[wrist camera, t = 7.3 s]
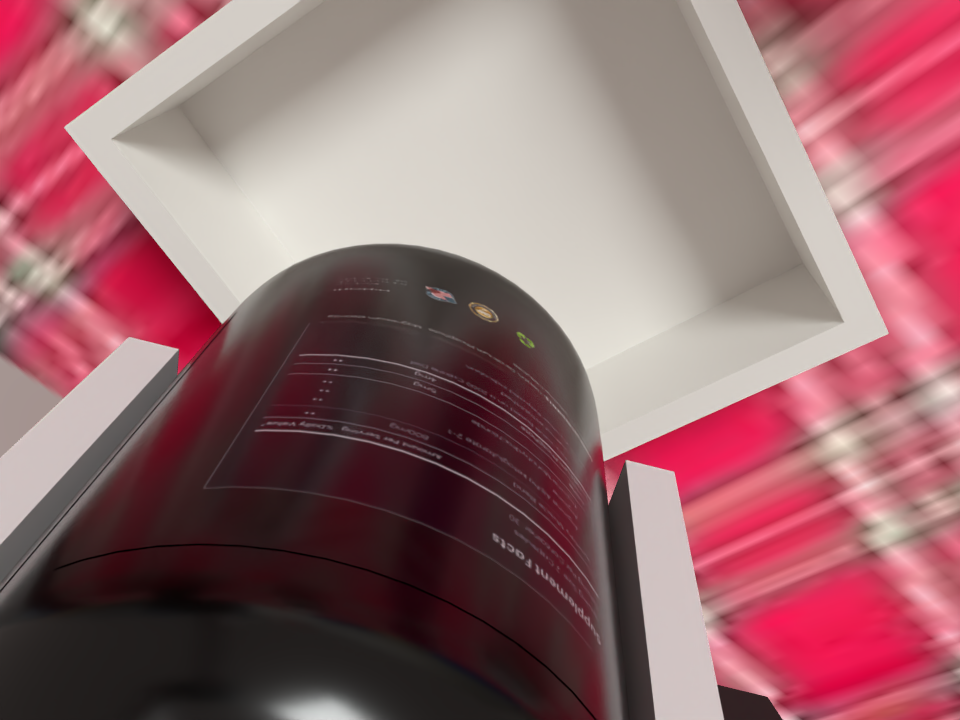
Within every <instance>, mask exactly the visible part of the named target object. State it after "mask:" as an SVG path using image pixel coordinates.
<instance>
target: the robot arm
mask: <svg viewBox="0 0 960 720" xmlns="http://www.w3.org/2000/svg"><path fill="white" fill-rule="evenodd" d="M178 356H179V349H176V348H172V347H168V346H164V345H159V344H155V343H151V342H147V341H143V340H139V339H135V338H131V337H128V338H127V339H126V340H125V341H124V342H123V343H122V344H121V345H120V346H119V347H118V348H117V349H116V350H115V351H114V352H112V353H111V354H110V355H109V356H108V357H107V358H106V359H105V360H104V361H103V362H102V363H101V364H100V365H99V366H98V367H96V368H95V369H94V370H93V371H92V372H91V373H90V374H89V375H88V376H87V377H86V378H85V379H84V380H83V381H82V382H81V383H79V384H78V385H77V386H76V387H75V388H74V389H73V390H72V391H71V392H70V393H69V394H68V395H67V396H66V397H65V398H63V399H62V400H61V401H60V402H59V403H58V404H57V405H56V406H55V407H54V408H53V409H52V410H51V411H50V412H49V413H48V414H47V415H46V416H44V417H43V418H42V419H41V420H40V421H39V422H38V423H37V424H36V425H35V426H34V427H33V428H32V429H31V430H29V431H28V432H27V433H26V434H25V435H24V436H23V437H22V438H21V439H20V440H19V441H18V442H17V443H16V444H15V445H13V447H11V448H10V449H9V450H8V451H7V452H6V453H5V454H4V455H3V456H2V457H1V458H0V582H1V581H2V580H3V579H4V577H5V576H6V575H7V574H8V573H9V572H10V570H11V569H12V568H13V567H14V566H15V565H16V563H17V562H18V561H19V560H20V559H21V558H22V556H23V555H24V554H25V553H26V552H27V551H28V549H29V548H30V547H31V546H32V545H33V544H34V542H35V541H36V540H37V539H38V538H39V537H40V535H41V534H42V533H43V532H44V531H45V530H46V528H47V527H48V526H49V525H50V524H51V523H52V521H53V520H54V519H55V518H56V517H57V516H58V514H59V513H60V512H61V511H62V510H63V509H64V507H65V506H66V505H67V504H68V503H69V502H70V500H71V499H72V498H73V497H74V496H75V495H76V493H77V492H78V491H79V490H80V489H81V488H82V486H83V485H84V484H85V483H86V482H87V481H88V479H89V478H90V477H91V476H92V475H93V474H94V472H95V471H96V470H97V469H98V468H99V467H100V465H101V464H102V463H103V462H104V461H105V460H106V458H107V457H108V456H109V455H110V454H111V453H112V451H113V450H114V449H115V448H116V447H117V446H118V444H119V443H120V442H121V441H122V440H123V439H124V437H125V436H126V435H127V434H128V433H129V432H130V430H131V429H132V428H133V427H134V426H135V425H136V423H137V422H138V421H139V420H140V419H141V418H142V416H143V415H144V414H145V413H146V412H147V411H148V409H149V408H150V407H151V406H152V405H153V404H154V402H155V401H156V400H157V399H158V398H159V397H160V395H161V394H162V393H163V392H164V391H165V390H166V388H167V387H168V386H169V385H170V384H171V383H172V381H173V380H174V379H175V378H176V377H177V370H178ZM608 509H609V519H610V529H611V539H612V549H613V558H614V568H615V578H616V588H617V598H618V608H619V617H620V627H621V637H622V647H623V657H624V667H625V676H626V686H627V696H628V706H629V716H630V720H782V718H781V717H780V715H779V714H778V712H777V711H776V709H775V708H774V706H773V705H772V703H771V702H770V700H769V699H768V697H765V696H761V695H757V694H753V693H749V692H745V691H740V690H736V689H732V688H728V687H724V686H720V685H717V682H716V677H715V672H714V667H713V662H712V657H711V652H710V647H709V642H708V637H707V632H706V627H705V622H704V617H703V613H702V608H701V603H700V598H699V593H698V588H697V583H696V578H695V573H694V568H693V563H692V558H691V553H690V548H689V543H688V538H687V533H686V528H685V523H684V518H683V513H682V508H681V503H680V498H679V493H678V488H677V483H676V478H675V473H674V472H673V471H668V470H664V469H660V468H656V467H652V466H648V465H644V464H640V463H636V462H632V461H628V460H626V461H625V463H624V466H623V469H622V471H621V474H620V476H619V479H618V482H617V484H616V487H615V490H614V492H613V495H612V497H611V500H610V503H609V505H608Z"/></svg>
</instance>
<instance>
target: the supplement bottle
mask: <svg viewBox="0 0 960 720" xmlns="http://www.w3.org/2000/svg"><path fill="white" fill-rule="evenodd" d="M0 720H630V716H629V706H628V696H627V686H626V676H625V667H624V657H623V647H622V637H621V627H620V617H619V608H618V598H617V588H616V578H615V568H614V558H613V549H612V539H611V529H610V519H609V509H608V499H607V490H606V480H605V470H604V460H603V450H602V442H601V437H600V428H599V421H598V414H597V409H596V403H595V399H594V395H593V391H592V388H591V385H590V382H589V378H588V375H587V373H586V370H585V368H584V366H583V363H582V361H581V359H580V357H579V355H578V353H577V352H576V350H575V348H574V346H573V344H572V343H571V341H570V340H569V338H568V337H567V335H566V334H565V333H564V331H563V330H562V328H561V327H560V326H559V324H558V323H557V322H556V321H555V320H554V319H553V318H552V316H551V315H550V314H549V313H548V312H547V311H546V310H545V309H544V308H543V307H542V306H541V305H540V304H539V303H538V302H537V301H536V300H535V299H533V298H532V297H531V296H530V295H529V294H528V293H526V292H525V291H524V290H522V289H521V288H520V287H519V286H517V285H516V284H515V283H513V282H512V281H510V280H508V279H507V278H505V277H504V276H502V275H500V274H499V273H497V272H495V271H493V270H491V269H489V268H487V267H485V266H483V265H481V264H479V263H477V262H475V261H472V260H470V259H467V258H465V257H462V256H459V255H456V254H453V253H449V252H446V251H442V250H439V249H434V248H428V247H423V246H417V245H407V244H381V243H377V244H366V245H356V246H351V247H345V248H340V249H335V250H331V251H328V252H325V253H321V254H318V255H315V256H312V257H310V258H307V259H305V260H303V261H300V262H298V263H296V264H294V265H292V266H290V267H288V268H287V269H285V270H283V271H281V272H279V273H278V274H276V275H275V276H274V277H272V278H271V279H269V280H268V281H266V282H265V283H264V284H262V285H261V286H260V287H259V288H258V289H256V290H255V291H254V292H253V293H252V294H251V295H250V296H249V297H247V298H246V299H245V300H244V301H243V302H242V303H241V304H240V305H239V307H238V308H237V309H236V310H235V311H234V312H233V313H232V314H231V315H230V316H229V318H228V319H227V320H226V321H225V322H224V323H223V324H222V325H221V326H220V327H219V328H218V329H217V330H216V332H215V333H214V334H213V335H212V336H211V337H210V338H209V340H208V341H207V342H206V343H205V344H204V345H203V346H202V348H201V349H200V350H199V351H198V352H197V353H196V355H195V356H194V357H193V358H192V359H191V360H190V362H189V363H188V364H187V365H186V366H185V367H184V369H183V370H182V371H181V372H180V373H179V374H178V376H177V377H176V378H175V379H174V380H173V381H172V383H171V384H170V385H169V386H168V387H167V388H166V390H165V391H164V392H163V393H162V394H161V395H160V397H159V398H158V399H157V400H156V401H155V402H154V404H153V405H152V406H151V407H150V408H149V409H148V411H147V412H146V413H145V414H144V415H143V416H142V418H141V419H140V420H139V421H138V422H137V423H136V425H135V426H134V427H133V428H132V429H131V430H130V432H129V433H128V434H127V435H126V436H125V437H124V439H123V440H122V441H121V442H120V443H119V444H118V446H117V447H116V448H115V449H114V450H113V451H112V453H111V454H110V455H109V456H108V457H107V458H106V460H105V461H104V462H103V463H102V464H101V465H100V467H99V468H98V469H97V470H96V471H95V472H94V474H93V475H92V476H91V477H90V478H89V479H88V481H87V482H86V483H85V484H84V485H83V486H82V488H81V489H80V490H79V491H78V492H77V493H76V495H75V496H74V497H73V498H72V499H71V500H70V502H69V503H68V504H67V505H66V506H65V507H64V509H63V510H62V511H61V512H60V513H59V514H58V516H57V517H56V518H55V519H54V520H53V521H52V523H51V524H50V525H49V526H48V527H47V528H46V530H45V531H44V532H43V533H42V534H41V535H40V537H39V538H38V539H37V540H36V541H35V542H34V544H33V545H32V546H31V547H30V548H29V549H28V551H27V552H26V553H25V554H24V555H23V556H22V558H21V559H20V560H19V561H18V562H17V563H16V565H15V566H14V567H13V568H12V569H11V570H10V572H9V573H8V574H7V575H6V576H5V577H4V579H3V580H2V581H1V582H0Z"/></svg>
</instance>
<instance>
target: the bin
mask: <svg viewBox="0 0 960 720" xmlns="http://www.w3.org/2000/svg"><path fill="white" fill-rule="evenodd" d="M64 128H65V129H66V131H67V132H68V133H69V134H70V136H71V137H72V138H73V139H74V141H75V142H76V143H77V144H78V146H79V147H80V148H81V149H82V151H83V152H84V153H85V154H86V156H87V157H88V158H89V159H90V160H91V162H92V163H93V164H94V165H95V167H96V168H97V169H98V170H99V172H100V173H101V174H102V175H103V177H104V178H105V179H106V180H107V182H108V183H109V184H110V185H111V187H112V188H113V189H114V190H115V192H116V193H117V194H118V195H119V196H120V198H121V199H122V200H123V201H124V203H125V204H126V205H127V206H128V208H129V209H130V210H131V211H132V213H133V214H134V215H135V216H136V218H137V219H138V220H139V221H140V223H141V224H142V225H143V226H144V228H145V229H146V230H147V231H148V232H149V234H150V235H151V236H152V237H153V239H154V240H155V241H156V242H157V244H158V245H159V246H160V247H161V249H162V250H163V251H164V252H165V254H166V255H167V256H168V257H169V259H170V260H171V261H172V262H173V264H174V265H175V266H176V267H177V268H178V270H179V271H180V272H181V273H182V275H183V276H184V277H185V278H186V280H187V281H188V282H189V283H190V285H191V286H192V287H193V288H194V290H195V291H196V292H197V293H198V295H199V296H200V297H201V298H202V300H203V301H204V302H205V303H206V304H207V306H208V307H209V308H210V309H211V311H212V312H213V313H214V314H215V316H216V317H217V318H218V319H219V321H220V322H221V323H222V324H223V323H224V322H225V321H226V320H227V319H228V318H229V316H230V315H231V314H232V313H233V312H234V311H235V310H236V309H237V308H238V307H239V305H240V304H241V303H242V302H243V301H244V300H245V299H246V298H247V297H249V296H250V295H251V294H252V293H253V292H254V291H255V290H256V289H258V288H259V287H260V286H261V285H262V284H264V283H265V282H266V281H268V280H269V279H271V278H272V277H274V276H275V275H276V274H278V273H279V272H281V271H283V270H285V269H287V268H288V267H290V266H292V265H294V264H296V263H298V262H300V261H303V260H305V259H307V258H310V257H312V256H315V255H318V254H321V253H325V252H328V251H331V250H335V249H340V248H345V247H351V246H356V245H366V244H377V243H381V244H407V245H417V246H423V247H428V248H434V249H439V250H442V251H446V252H449V253H453V254H456V255H459V256H462V257H465V258H467V259H470V260H472V261H475V262H477V263H479V264H481V265H483V266H485V267H487V268H489V269H491V270H493V271H495V272H497V273H499V274H500V275H502V276H504V277H505V278H507V279H508V280H510V281H512V282H513V283H515V284H516V285H517V286H519V287H520V288H521V289H522V290H524V291H525V292H526V293H528V294H529V295H530V296H531V297H532V298H533V299H535V300H536V301H537V302H538V303H539V304H540V305H541V306H542V307H543V308H544V309H545V310H546V311H547V312H548V313H549V314H550V315H551V316H552V318H553V319H554V320H555V321H556V322H557V323H558V324H559V326H560V327H561V328H562V330H563V331H564V333H565V334H566V335H567V337H568V338H569V340H570V341H571V343H572V344H573V346H574V348H575V350H576V352H577V353H578V355H579V357H580V359H581V361H582V363H583V366H584V368H585V370H586V373H587V375H588V378H589V382H590V385H591V388H592V391H593V395H594V399H595V403H596V409H597V414H598V421H599V428H600V437H601V442H602V450H603V460H604V461H606V460H608V459H610V458H613V457H615V456H617V455H619V454H622V453H624V452H626V451H628V450H631V449H633V448H635V447H637V446H639V445H642V444H644V443H646V442H648V441H651V440H653V439H655V438H657V437H659V436H662V435H664V434H666V433H668V432H671V431H673V430H675V429H677V428H680V427H682V426H684V425H686V424H688V423H691V422H693V421H695V420H697V419H700V418H702V417H704V416H706V415H709V414H711V413H713V412H715V411H717V410H720V409H722V408H724V407H726V406H729V405H731V404H733V403H735V402H737V401H740V400H742V399H744V398H746V397H749V396H751V395H753V394H755V393H758V392H760V391H762V390H764V389H766V388H769V387H771V386H773V385H775V384H778V383H780V382H782V381H784V380H787V379H789V378H791V377H793V376H795V375H798V374H800V373H802V372H804V371H807V370H809V369H811V368H813V367H815V366H818V365H820V364H822V363H824V362H827V361H829V360H831V359H833V358H836V357H838V356H840V355H842V354H844V353H847V352H849V351H851V350H853V349H856V348H858V347H860V346H862V345H864V344H867V343H869V342H871V341H873V340H876V339H878V338H880V337H882V336H885V335H887V334H889V333H888V330H887V328H886V326H885V324H884V322H883V319H882V317H881V315H880V313H879V311H878V309H877V306H876V304H875V302H874V300H873V298H872V295H871V293H870V291H869V289H868V287H867V284H866V282H865V280H864V278H863V276H862V274H861V271H860V269H859V267H858V265H857V263H856V260H855V258H854V256H853V254H852V252H851V249H850V247H849V245H848V243H847V241H846V239H845V236H844V234H843V232H842V230H841V228H840V225H839V223H838V221H837V219H836V217H835V214H834V212H833V210H832V208H831V206H830V204H829V201H828V199H827V197H826V195H825V193H824V190H823V188H822V186H821V184H820V182H819V180H818V177H817V175H816V173H815V171H814V169H813V166H812V164H811V162H810V160H809V158H808V155H807V153H806V151H805V149H804V147H803V145H802V142H801V140H800V138H799V136H798V134H797V131H796V129H795V127H794V125H793V123H792V120H791V118H790V116H789V114H788V112H787V110H786V107H785V105H784V103H783V101H782V99H781V96H780V94H779V92H778V90H777V88H776V85H775V83H774V81H773V79H772V77H771V75H770V72H769V70H768V68H767V66H766V64H765V61H764V59H763V57H762V55H761V53H760V51H759V48H758V46H757V44H756V42H755V40H754V37H753V35H752V33H751V31H750V29H749V26H748V24H747V22H746V20H745V18H744V16H743V13H742V11H741V9H740V7H739V5H738V2H737V0H232V1H231V2H230V3H228V4H227V5H226V6H224V7H223V8H222V9H220V10H219V11H218V12H216V13H215V14H214V15H212V16H211V17H210V18H208V19H207V20H206V21H204V22H203V23H202V24H200V25H199V26H198V27H196V28H195V29H194V30H192V31H191V32H190V33H188V34H187V35H186V36H184V37H183V38H182V39H180V40H179V41H178V42H176V43H175V44H174V45H172V46H171V47H170V48H169V49H167V50H166V51H165V52H163V53H162V54H161V55H159V56H158V57H157V58H155V59H154V60H153V61H151V62H150V63H149V64H147V65H146V66H145V67H143V68H142V69H141V70H139V71H138V72H137V73H135V74H134V75H133V76H131V77H130V78H129V79H127V80H126V81H125V82H123V83H122V84H121V85H119V86H118V87H117V88H115V89H114V90H113V91H111V92H110V93H109V94H107V95H106V96H105V97H103V98H102V99H101V100H99V101H98V102H97V103H96V104H94V105H93V106H92V107H90V108H89V109H88V110H86V111H85V112H84V113H82V114H81V115H80V116H78V117H77V118H76V119H74V120H73V121H72V122H70V123H69V124H68V125H66V126H65V127H64Z"/></svg>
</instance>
